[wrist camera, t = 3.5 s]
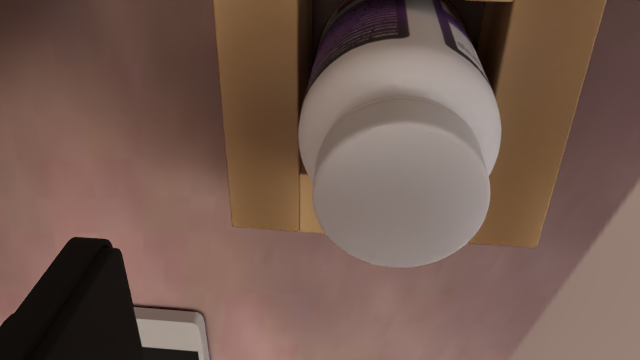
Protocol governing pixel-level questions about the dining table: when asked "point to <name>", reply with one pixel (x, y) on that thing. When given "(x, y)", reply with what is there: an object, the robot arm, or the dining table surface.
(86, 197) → the dining table surface
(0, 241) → the dining table surface
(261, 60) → the frame
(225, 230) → the dining table surface
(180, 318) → the smartphone
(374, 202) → the pill bottle
